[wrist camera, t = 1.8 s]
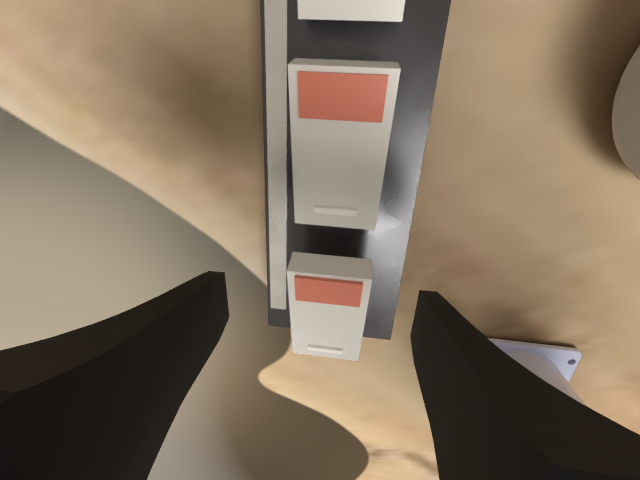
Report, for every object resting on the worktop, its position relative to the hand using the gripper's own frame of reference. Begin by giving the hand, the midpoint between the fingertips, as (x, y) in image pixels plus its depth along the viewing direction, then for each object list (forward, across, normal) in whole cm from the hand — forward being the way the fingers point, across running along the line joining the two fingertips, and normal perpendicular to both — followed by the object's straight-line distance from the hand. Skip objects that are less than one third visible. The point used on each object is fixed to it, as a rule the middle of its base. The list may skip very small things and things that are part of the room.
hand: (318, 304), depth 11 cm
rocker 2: (+6, 0, +3) cm, 7 cm away
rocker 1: (+6, 0, -5) cm, 8 cm away
